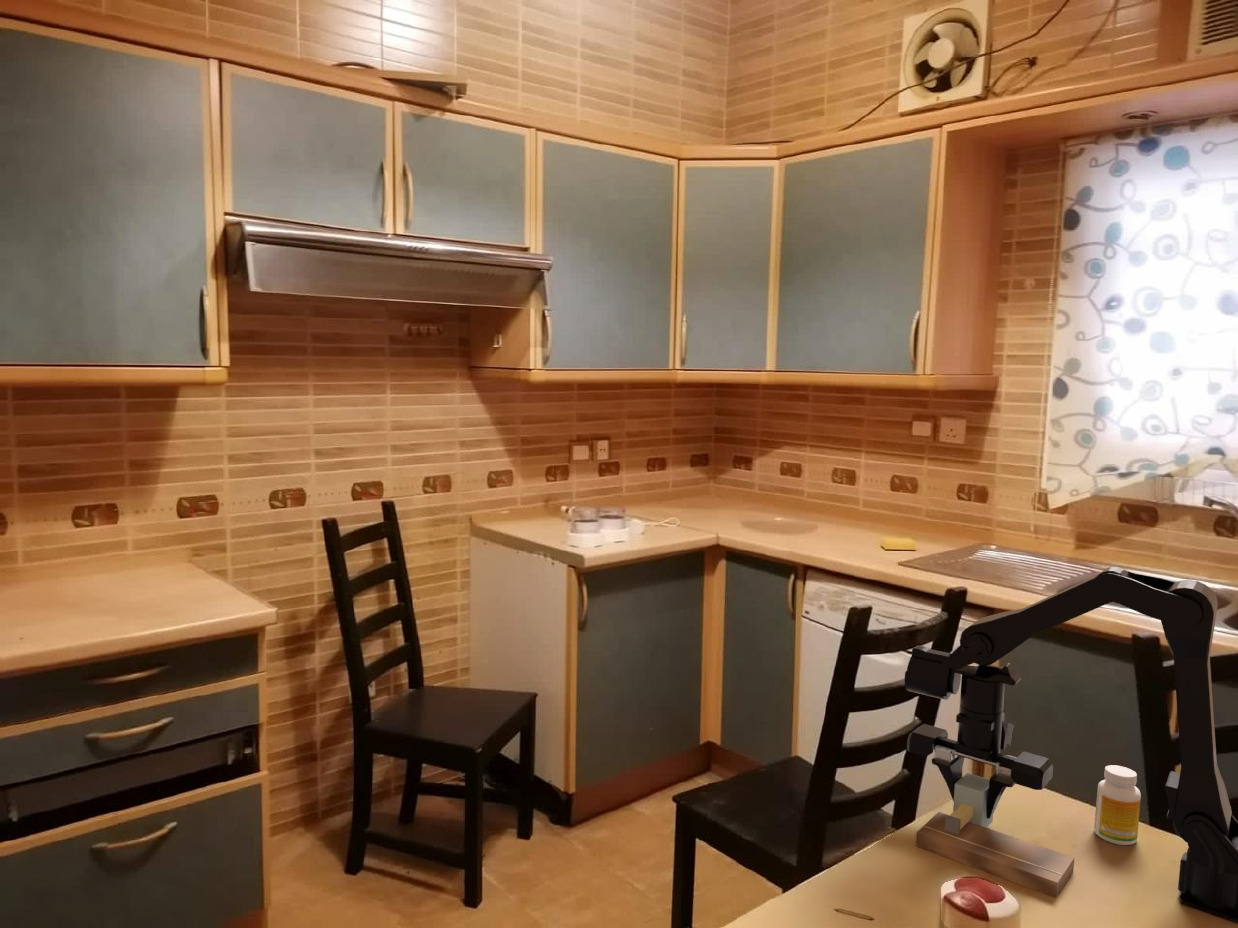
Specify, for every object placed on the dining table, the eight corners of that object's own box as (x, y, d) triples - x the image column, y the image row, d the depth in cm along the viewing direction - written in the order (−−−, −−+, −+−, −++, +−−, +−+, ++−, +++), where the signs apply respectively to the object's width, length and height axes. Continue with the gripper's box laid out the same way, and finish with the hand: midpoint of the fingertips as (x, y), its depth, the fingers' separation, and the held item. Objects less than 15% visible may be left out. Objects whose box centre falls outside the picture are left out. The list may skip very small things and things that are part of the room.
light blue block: (992, 821, 130) (995, 781, 129) (965, 850, 121) (968, 807, 121) (964, 812, 132) (967, 772, 132) (935, 839, 124) (938, 797, 123)
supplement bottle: (1145, 846, 125) (1151, 779, 124) (1106, 845, 125) (1111, 778, 124) (1124, 827, 131) (1129, 763, 130) (1086, 826, 131) (1092, 761, 130)
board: (1073, 871, 118) (1074, 856, 118) (1056, 897, 112) (1057, 881, 112) (937, 824, 130) (938, 811, 130) (915, 845, 124) (916, 831, 123)
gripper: (1067, 709, 128) (1059, 814, 129) (937, 677, 140) (931, 774, 141) (1045, 731, 119) (1036, 843, 121) (908, 696, 131) (902, 798, 133)
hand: (973, 812), depth 129 cm, fingers closed on light blue block, 4 cm apart
